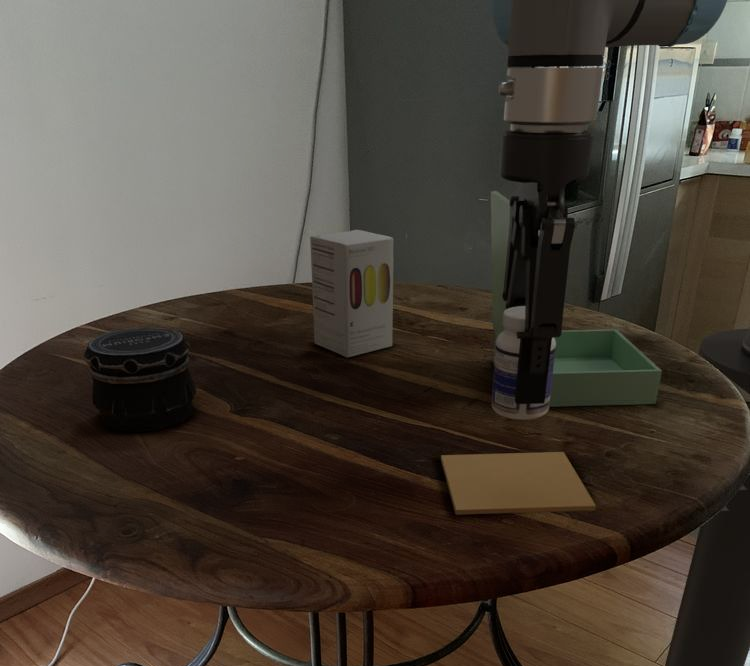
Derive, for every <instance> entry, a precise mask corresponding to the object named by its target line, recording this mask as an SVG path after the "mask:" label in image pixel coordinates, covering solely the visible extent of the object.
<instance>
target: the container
mask: <svg viewBox="0 0 750 666" xmlns="http://www.w3.org/2000/svg"><path fill="white" fill-rule="evenodd" d="M190 349H191V345H190V342H189V341H188V340H187V339H185V337H184V336H183V335H182V333H181V332H179V331H175V330H173V329H168V328H166V327H152V326H151V327H135V328H125V329H120V330H115V331H110V332H107V333H104V334H101V335H98V336H96V337H94V338H93V339H91V340H90V341H89V342H88V343H87V346H86V349H85V351H84V353H83V360H84V362H85V363H87V364H88V365H89V366H88V373H89V375H90V376H91V380H92V392H91V393H92V394H91V403H92V404H93V406H95V408H96V410H98V411H99V414H100V415H101V417H102V421H103V423H104V425H106V426H107V427H108V428H110V429H112V430H116V431H122V432H151V431H157V430H162V429H165V428H167V427H170V426H175V425H177V424H180V423H182V422H184V421H185V420H187V419H188V418H189V417H190V416H191V415H192V414H193V407H194V406H193V400H194V398H195V396H196V394H197V387H196V384H195V382H194V380H193V377H192V375H191V372H190V370H189V366H190V358H189V355H188V354H189V352H190Z"/></svg>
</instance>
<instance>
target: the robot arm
mask: <svg viewBox="0 0 750 666" xmlns="http://www.w3.org/2000/svg"><path fill="white" fill-rule="evenodd" d="M727 3H728V0H491V17H492V18H491V19H492V24H493V28H494V31H495V32H496V35H497V36H498V38H499V39H500V41H502V43H504V44H505V45H506V46H507V48H508V50H507V65H506V67H507V71H506V80H507V81H502V82H500V84H499V85H498V93H499V95H500V96H502V97H503V96H506V97H505V99H504V111H503V121H504V122H505V123H506V124H509V125H510V127H509V129H508V130H505V131H504V132H503V133H504V134H502V135H501V142H500V143H501V144H500V154H499V155H500V157H499V158H500V159H499V170H498V171H499V175H500V177H501V178H502V179H504V180H506V181H510V182H513V183H514V182H515V183H520V187H519V188H520V189H519V194H518V195H511V196H510V198H509V206H510V224H509V235H508V246H507V257H506V268H505V279H504V290H503V293H502V297H503V300H504V301H507V303H506V309H508V308H511V307H517V306H525V329H524V332H517V338H518V339H520V349H519V359H518V370H517V380H516V391H515V403H516V404H543V403H545V394H546V386H547V377H548V368H549V360H550V351H551V343H552V338H554V337H560V336H561V332H562V330H563V318H564V309H565V300H566V290H567V281H568V273H569V262H570V253H571V246H572V241H573V238H574V237H573V236H574V232H575V229H576V220H575V218H574V217H569V207H568V204H566V200H565V197H566V191H565V189H566V185H568V183H579V182H582V181H584V180H585V179H586V178H587V177H588V176H589V174H590V167H591V159H592V151H593V145H594V135H592V131H591V130H589V125H592V124H595V122H596V121H597V120H598V111H599V102H600V94H601V87H602V79H603V71H604V67H603V66H604V59H605V51H606V48H609V47H633V46H658V47H661V48H666V47H667V48H672V47H674V46H678V45H689V44H692V43H694V42H696V41H699V40H701V38H703V37H704V36H705V35H706V34H708V33H709V32H710V31H711V30H712V28H714V26H715V25H716V24H717V23H718V21H719V20H720V18H721V16H722V14H723V12H724V9H725V7H726V6H727ZM748 329H749V330H748V332H747V333H746V335H745V337H744V339H743V343H742V347H741V350H742V352H743V353H744V354H745V355H747V356H748V357H750V328H748Z"/></svg>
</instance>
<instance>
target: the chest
mask: <svg viewBox="0 0 750 666" xmlns="http://www.w3.org/2000/svg"><path fill="white" fill-rule="evenodd" d="M497 337H498V336H497V335H496V333H495V332H494V345H493V357H492V359H493V360H492V362H493V363H494V361H495V345H496V339H497ZM554 338H555V341H556V350H555V358H554V368H553V377H552V386H551V396H550V405H549V408H551V407H557V408H558V407H589V406H590V407H594V406H595V407H596V406H630V405H631V406H632V405H656V403H657V399H658V393H659V388H660V383H661V378H662V373H663V370H662V369H661V368H660V367H659V366H657V365H656V363H654V362H653V361H652V360H651V359H650V358H649V357H648V356H647V355H645V354H644V353H643V352H642V351H641V350H640V349H639V348H638V347H637V346H636V345H634V344H633V342H631V341H630V340H629V339H628V338H627V337H626V336H625V335H624V334H623V333H621V332H620V331H619V330H618V329H617V328H613V329H612V328H611V329H610V328H607V329H567V330H565V329H564V330H563V329H562V332H561V336H560V337H554Z"/></svg>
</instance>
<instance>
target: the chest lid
mask: <svg viewBox="0 0 750 666" xmlns="http://www.w3.org/2000/svg"><path fill="white" fill-rule="evenodd" d="M509 201H510V199H508V198H507V197H505V196H504V195H503V194H502V193H500V192H499V191H497V190H492V191H490V224H491V225H490V227H491V234H490V235H491V280H492V281H491V293H492V295H491V297H492V330H493V331H494V334H495V333H496V335H497V336H498V335H499V334H500V333H502V332H503V331H504V330H505V327H504V326H503V324H502V323H503V312H504V311H505V310H506V303H507V301H504V300H503V297H502V293H503V290H504V279H505V268H506V257H507V246H508V235H509V224H510V206H509Z"/></svg>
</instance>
